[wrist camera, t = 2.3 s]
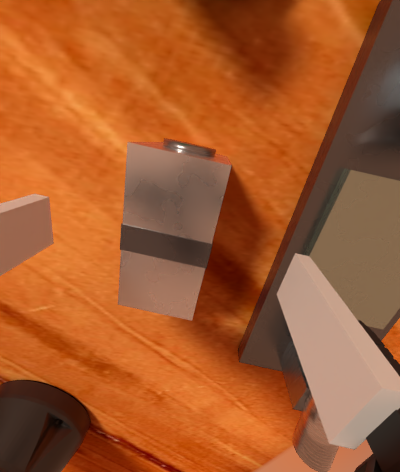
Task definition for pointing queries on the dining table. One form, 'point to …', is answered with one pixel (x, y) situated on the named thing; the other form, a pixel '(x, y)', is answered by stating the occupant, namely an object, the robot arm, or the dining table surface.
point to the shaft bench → (343, 225)
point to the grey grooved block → (169, 224)
